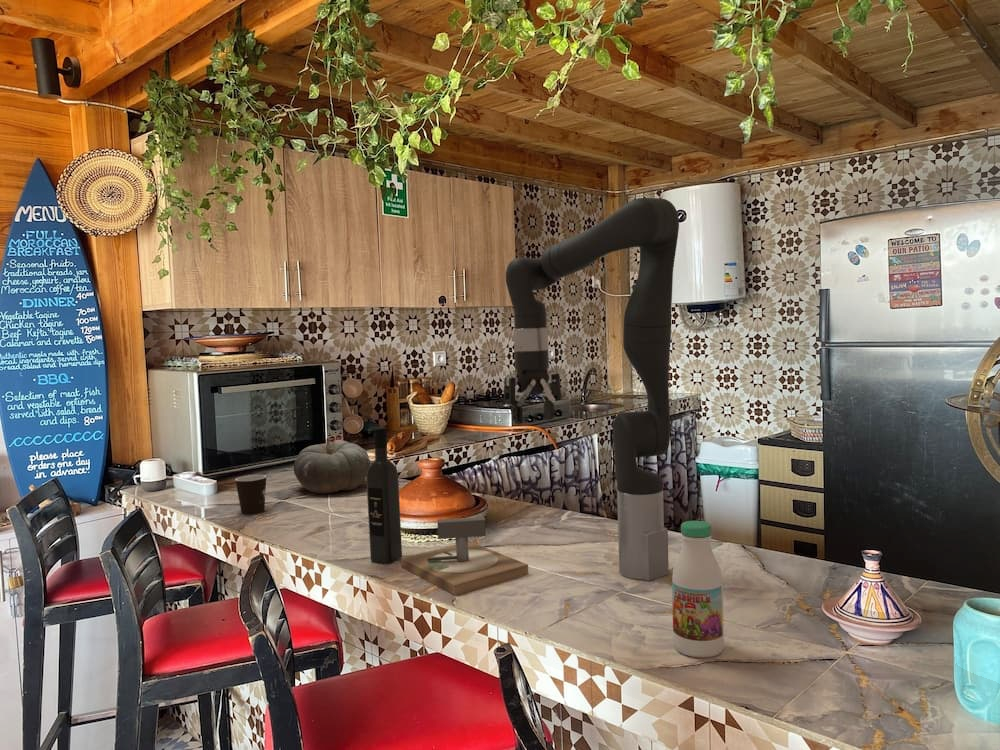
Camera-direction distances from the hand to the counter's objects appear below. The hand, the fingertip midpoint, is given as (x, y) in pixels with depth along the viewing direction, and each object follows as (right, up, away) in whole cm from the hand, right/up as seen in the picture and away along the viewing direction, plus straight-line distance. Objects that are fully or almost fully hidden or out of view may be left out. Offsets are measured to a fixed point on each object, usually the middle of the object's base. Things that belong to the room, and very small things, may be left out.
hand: (533, 421), depth 164 cm
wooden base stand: (-15, -31, -7) cm, 36 cm away
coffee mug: (-79, -30, +53) cm, 100 cm away
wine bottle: (-33, -32, +2) cm, 46 cm away
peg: (-17, -29, -8) cm, 34 cm away
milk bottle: (+24, -33, -48) cm, 63 cm away
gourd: (-62, -27, +78) cm, 103 cm away
